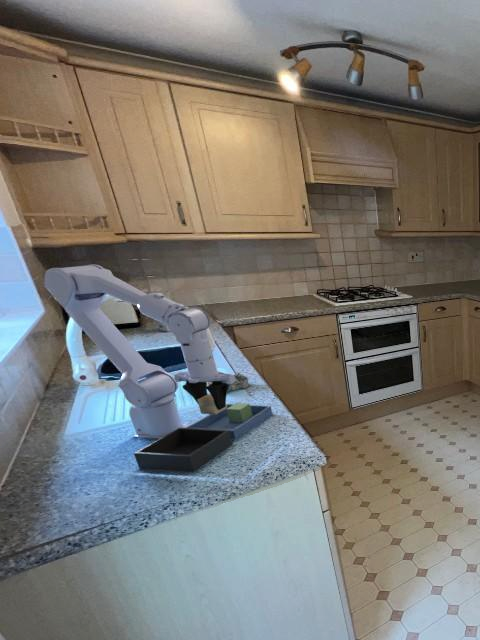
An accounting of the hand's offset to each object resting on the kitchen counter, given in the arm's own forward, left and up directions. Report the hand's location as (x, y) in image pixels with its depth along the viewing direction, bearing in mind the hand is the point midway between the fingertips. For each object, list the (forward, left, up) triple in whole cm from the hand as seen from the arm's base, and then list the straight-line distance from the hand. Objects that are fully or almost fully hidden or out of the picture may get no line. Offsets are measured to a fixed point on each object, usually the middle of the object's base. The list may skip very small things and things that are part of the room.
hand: (213, 407), depth 105 cm
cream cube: (0, 0, -1) cm, 1 cm away
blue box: (0, +4, -8) cm, 9 cm away
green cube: (0, +8, -7) cm, 11 cm away
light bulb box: (-104, +100, -8) cm, 145 cm away
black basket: (+1, -12, -8) cm, 14 cm away
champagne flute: (-30, +34, -8) cm, 46 cm away
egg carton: (-20, +29, -8) cm, 36 cm away
